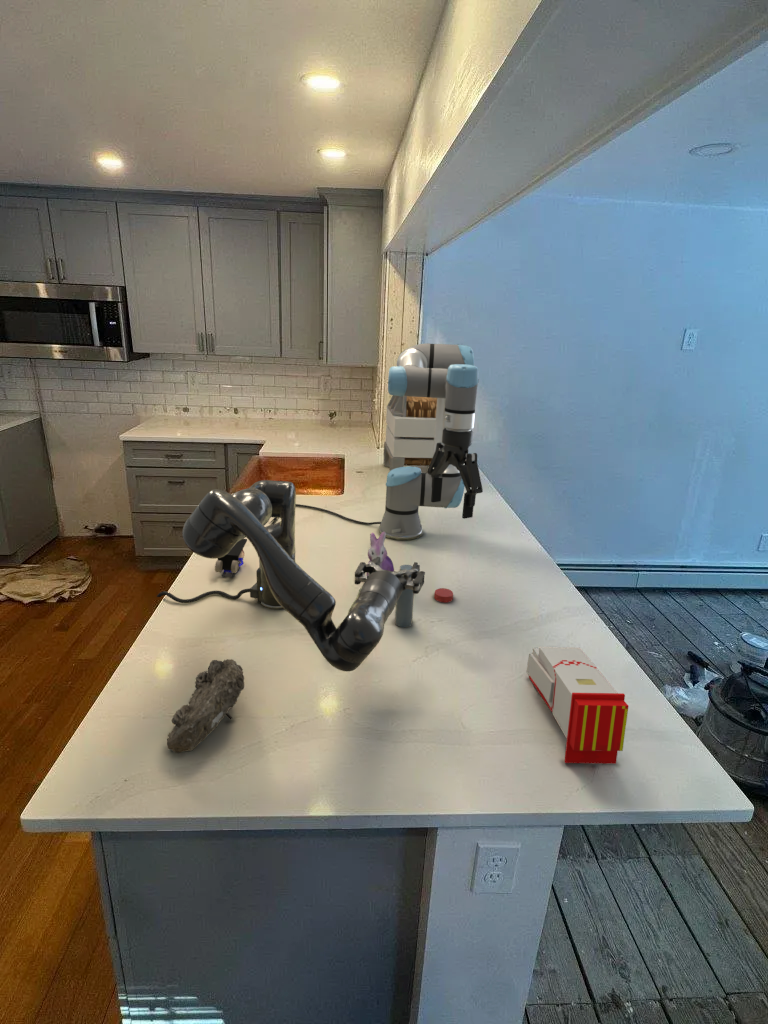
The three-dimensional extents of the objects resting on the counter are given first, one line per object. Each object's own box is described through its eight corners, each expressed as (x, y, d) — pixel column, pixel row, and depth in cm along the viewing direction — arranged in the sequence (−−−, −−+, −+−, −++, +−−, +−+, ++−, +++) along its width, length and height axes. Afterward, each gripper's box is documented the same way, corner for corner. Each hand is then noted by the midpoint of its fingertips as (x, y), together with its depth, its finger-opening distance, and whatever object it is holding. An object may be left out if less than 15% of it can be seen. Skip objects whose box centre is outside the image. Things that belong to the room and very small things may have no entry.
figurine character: (238, 584, 162) (249, 557, 175) (236, 562, 158) (247, 536, 172) (215, 584, 161) (227, 556, 175) (212, 561, 158) (225, 535, 171)
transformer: (382, 463, 289) (386, 382, 275) (445, 464, 293) (451, 384, 279) (390, 482, 257) (394, 392, 243) (460, 483, 261) (468, 394, 247)
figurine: (372, 591, 158) (374, 542, 153) (357, 576, 166) (358, 529, 161) (402, 585, 162) (404, 537, 157) (385, 571, 171) (387, 524, 166)
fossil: (192, 660, 117) (244, 628, 112) (224, 691, 120) (276, 661, 115) (142, 746, 98) (202, 712, 93) (182, 779, 101) (242, 748, 96)
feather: (288, 505, 226) (290, 501, 226) (271, 529, 199) (273, 524, 199) (284, 503, 226) (287, 499, 225) (266, 526, 199) (269, 522, 199)
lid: (439, 591, 160) (440, 586, 160) (456, 597, 157) (456, 591, 157) (430, 598, 156) (431, 593, 156) (447, 604, 153) (447, 598, 153)
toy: (575, 629, 125) (638, 701, 96) (569, 684, 128) (628, 771, 99) (520, 628, 125) (567, 700, 96) (515, 683, 128) (560, 770, 98)
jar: (413, 627, 142) (417, 571, 136) (395, 627, 141) (398, 571, 136) (410, 618, 146) (414, 563, 141) (393, 618, 145) (396, 563, 140)
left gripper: (343, 607, 114) (366, 573, 129) (412, 619, 111) (427, 583, 126) (344, 574, 111) (367, 543, 126) (414, 585, 108) (430, 552, 123)
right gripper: (417, 420, 149) (412, 497, 156) (478, 440, 129) (469, 527, 136) (440, 418, 153) (435, 493, 160) (503, 438, 133) (493, 522, 140)
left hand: (397, 563), depth 126 cm, fingers open, 8 cm apart
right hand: (450, 509), depth 148 cm, fingers open, 13 cm apart
